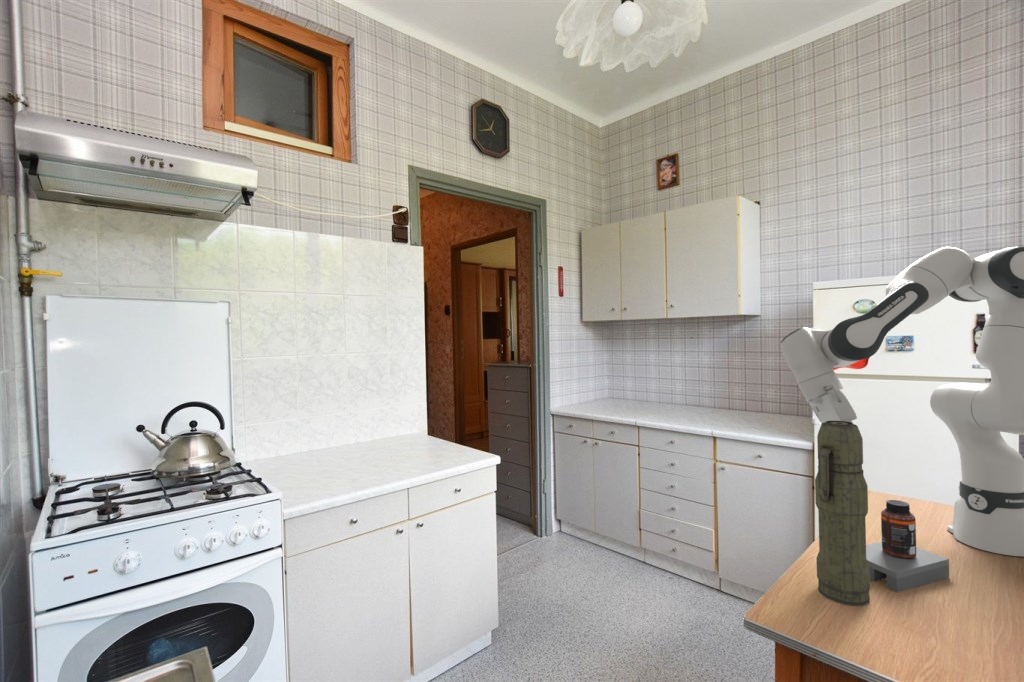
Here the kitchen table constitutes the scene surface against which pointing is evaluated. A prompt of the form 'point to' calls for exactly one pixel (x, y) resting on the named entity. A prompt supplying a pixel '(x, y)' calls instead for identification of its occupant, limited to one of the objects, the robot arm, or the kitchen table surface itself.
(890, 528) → the supplement bottle
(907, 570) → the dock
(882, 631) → the kitchen table surface
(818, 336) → the robot arm
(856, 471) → the thermos
